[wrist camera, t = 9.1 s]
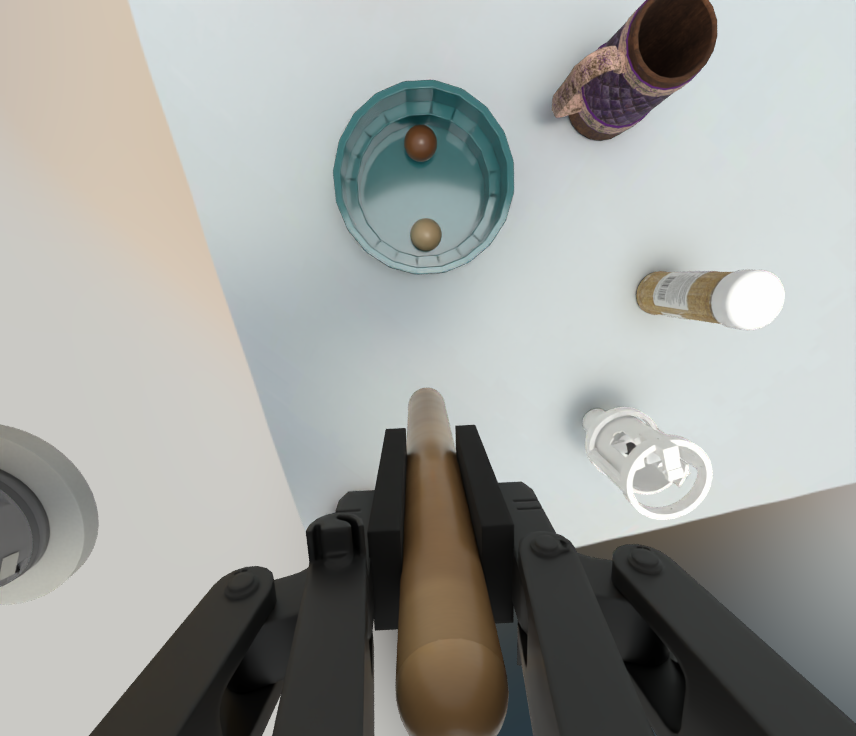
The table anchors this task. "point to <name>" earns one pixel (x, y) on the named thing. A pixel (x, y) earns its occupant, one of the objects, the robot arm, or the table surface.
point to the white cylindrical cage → (645, 459)
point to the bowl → (423, 176)
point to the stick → (443, 594)
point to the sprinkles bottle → (714, 296)
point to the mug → (638, 67)
